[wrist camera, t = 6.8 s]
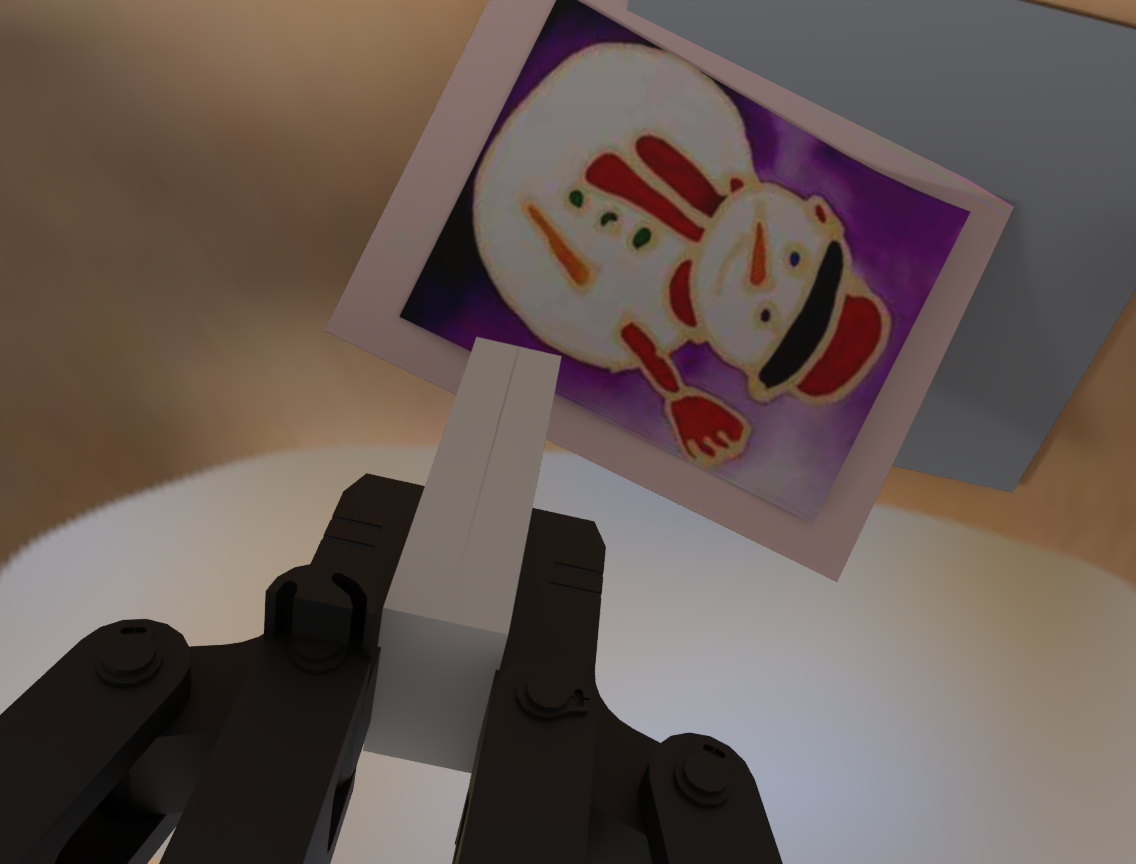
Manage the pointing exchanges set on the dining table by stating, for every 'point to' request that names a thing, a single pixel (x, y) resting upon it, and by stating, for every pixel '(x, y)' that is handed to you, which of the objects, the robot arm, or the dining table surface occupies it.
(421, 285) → the greeting card
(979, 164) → the mat
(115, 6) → the dining table surface
